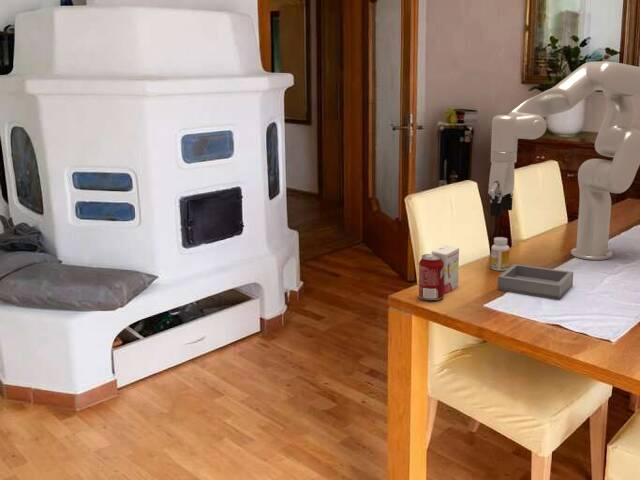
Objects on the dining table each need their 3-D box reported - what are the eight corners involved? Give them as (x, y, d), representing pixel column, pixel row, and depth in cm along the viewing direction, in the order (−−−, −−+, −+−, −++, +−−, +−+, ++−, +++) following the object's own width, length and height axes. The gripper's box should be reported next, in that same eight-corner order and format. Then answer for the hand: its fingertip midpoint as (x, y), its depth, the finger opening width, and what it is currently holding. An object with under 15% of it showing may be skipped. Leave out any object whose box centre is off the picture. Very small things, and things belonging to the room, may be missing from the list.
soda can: (438, 303, 178) (438, 261, 175) (415, 299, 181) (415, 258, 178) (447, 296, 183) (448, 254, 180) (424, 292, 187) (425, 251, 184)
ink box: (445, 294, 185) (446, 254, 182) (429, 291, 188) (430, 251, 185) (459, 286, 191) (460, 246, 188) (443, 283, 194) (444, 244, 191)
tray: (513, 276, 198) (514, 263, 197) (572, 285, 188) (573, 272, 187) (497, 290, 187) (498, 276, 186) (559, 300, 177) (560, 285, 176)
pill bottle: (509, 266, 208) (510, 236, 205) (508, 271, 203) (509, 241, 200) (491, 265, 210) (492, 236, 207) (490, 270, 205) (491, 240, 202)
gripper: (501, 153, 206) (499, 206, 211) (481, 159, 193) (479, 217, 197) (525, 154, 202) (522, 208, 207) (506, 161, 188) (503, 219, 193)
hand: (501, 212), depth 202 cm, fingers open, 9 cm apart
